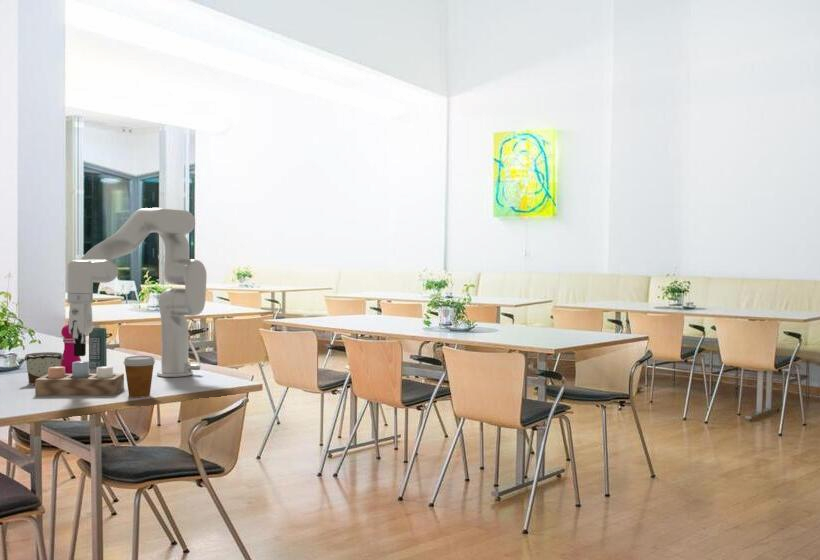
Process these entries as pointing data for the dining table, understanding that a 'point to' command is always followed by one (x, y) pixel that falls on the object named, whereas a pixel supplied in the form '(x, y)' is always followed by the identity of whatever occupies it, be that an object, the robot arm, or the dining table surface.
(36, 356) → the food container
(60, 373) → the terracotta egg
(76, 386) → the wooden egg rack
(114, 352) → the dining table surface
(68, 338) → the pepper mill
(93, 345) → the dark green cylinder
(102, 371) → the white egg
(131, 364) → the disposable coffee cup
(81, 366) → the slate egg
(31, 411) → the dining table surface
